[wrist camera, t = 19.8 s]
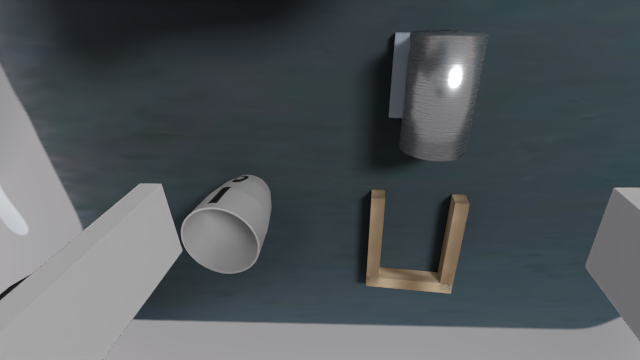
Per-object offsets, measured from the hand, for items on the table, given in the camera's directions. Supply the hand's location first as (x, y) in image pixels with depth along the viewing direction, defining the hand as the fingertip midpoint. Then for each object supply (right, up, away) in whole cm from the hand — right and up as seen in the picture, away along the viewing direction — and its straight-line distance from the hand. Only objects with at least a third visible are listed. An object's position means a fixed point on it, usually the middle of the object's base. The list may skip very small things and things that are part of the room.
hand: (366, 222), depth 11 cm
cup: (-10, 0, +33) cm, 35 cm away
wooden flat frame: (+10, -6, +33) cm, 35 cm away
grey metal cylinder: (+10, +10, +23) cm, 27 cm away
